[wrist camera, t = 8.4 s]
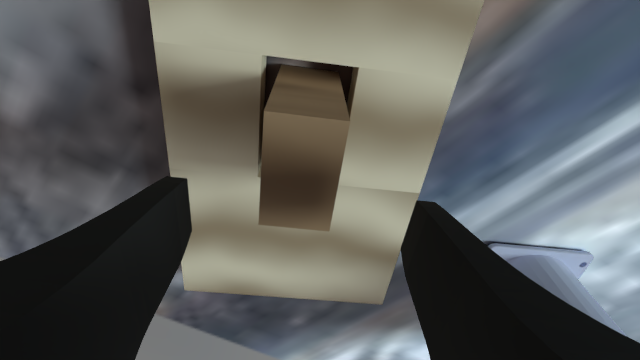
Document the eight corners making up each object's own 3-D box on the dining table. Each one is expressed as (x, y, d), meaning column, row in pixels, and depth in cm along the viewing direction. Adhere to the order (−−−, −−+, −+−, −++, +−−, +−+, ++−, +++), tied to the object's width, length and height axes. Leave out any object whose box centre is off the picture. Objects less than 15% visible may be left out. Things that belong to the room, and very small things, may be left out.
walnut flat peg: (325, 155, 20) (329, 231, 14) (275, 150, 20) (258, 224, 14) (338, 72, 18) (350, 121, 12) (281, 64, 17) (264, 110, 11)
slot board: (377, 282, 26) (382, 304, 24) (193, 268, 25) (184, 290, 23) (485, -65, 15) (507, -70, 13) (155, -118, 14) (132, -131, 12)
